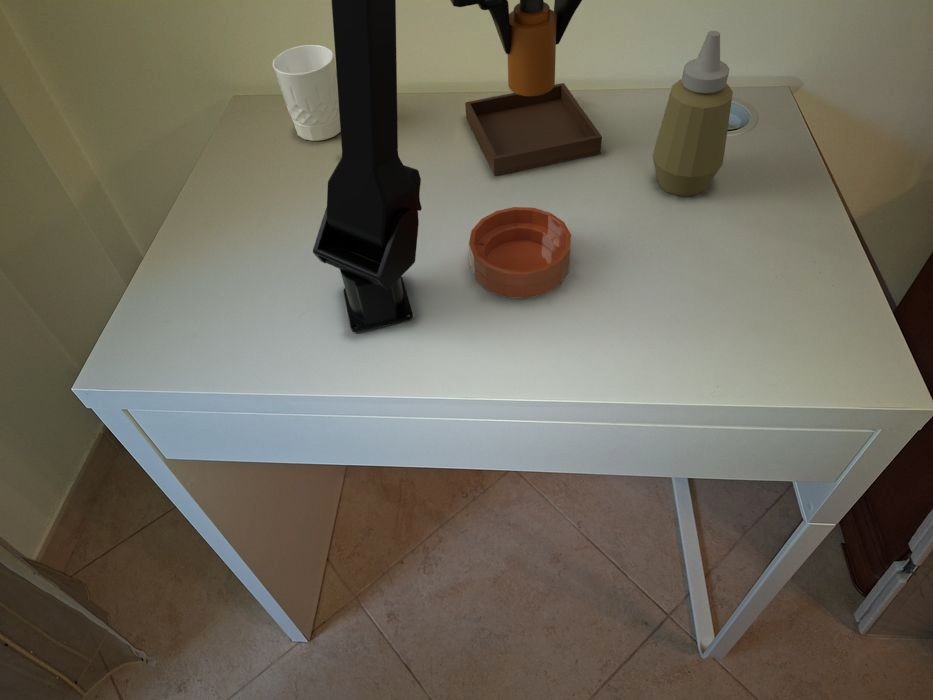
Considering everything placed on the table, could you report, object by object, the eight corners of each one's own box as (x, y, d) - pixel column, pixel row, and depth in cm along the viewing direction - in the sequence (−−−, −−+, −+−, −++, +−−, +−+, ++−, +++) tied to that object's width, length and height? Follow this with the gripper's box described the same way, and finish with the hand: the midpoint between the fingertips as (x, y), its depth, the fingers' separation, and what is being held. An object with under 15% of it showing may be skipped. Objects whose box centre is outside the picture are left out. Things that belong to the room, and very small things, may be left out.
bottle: (561, 91, 80) (565, -16, 71) (516, 100, 80) (514, -6, 71) (546, 68, 84) (548, -35, 75) (502, 77, 83) (499, -26, 74)
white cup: (339, 145, 92) (323, 74, 84) (285, 143, 93) (263, 73, 85) (354, 113, 97) (340, 44, 89) (302, 112, 98) (284, 44, 90)
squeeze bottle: (666, 209, 79) (696, 58, 65) (636, 170, 84) (658, 23, 70) (729, 194, 80) (772, 43, 66) (696, 157, 85) (730, 9, 71)
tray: (600, 153, 87) (602, 136, 85) (494, 176, 85) (493, 159, 83) (563, 99, 96) (563, 82, 94) (466, 118, 94) (464, 102, 92)
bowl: (583, 288, 71) (585, 260, 68) (486, 311, 70) (484, 283, 67) (550, 227, 78) (551, 198, 75) (461, 246, 77) (458, 218, 74)
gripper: (591, -145, 73) (583, 4, 85) (423, -117, 71) (438, 32, 83) (633, -114, 66) (617, 44, 78) (447, -82, 64) (460, 75, 76)
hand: (531, 47), depth 79 cm, fingers closed on bottle, 5 cm apart
